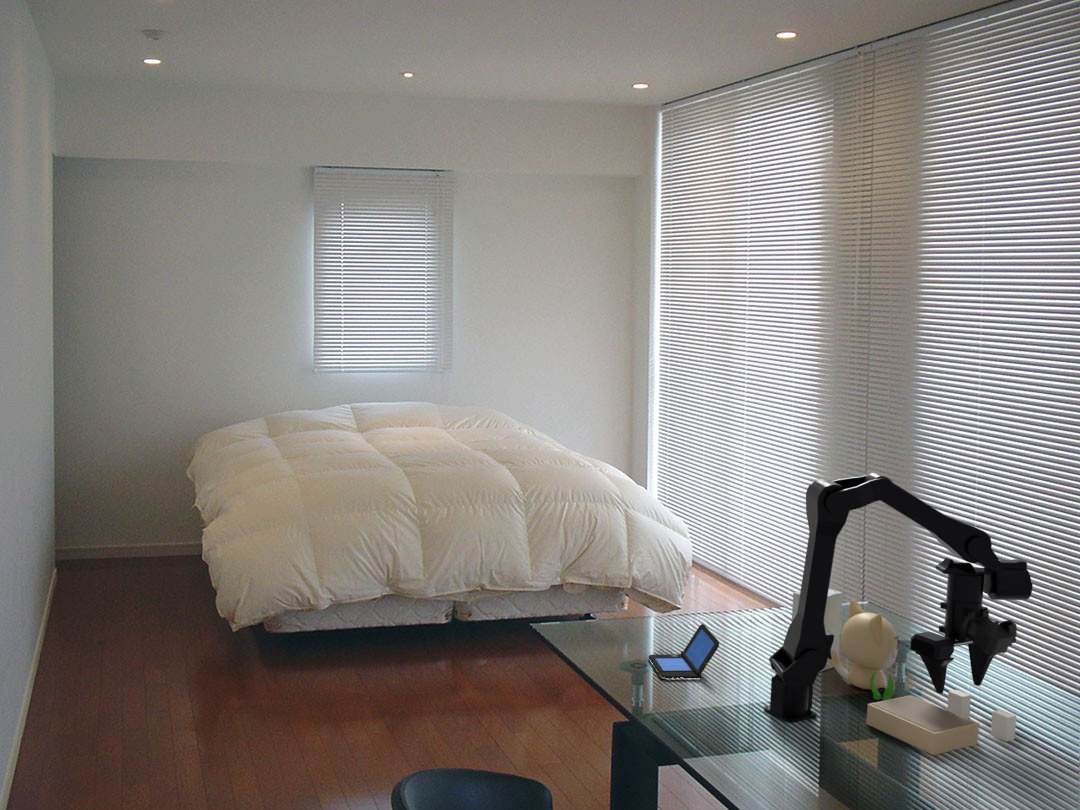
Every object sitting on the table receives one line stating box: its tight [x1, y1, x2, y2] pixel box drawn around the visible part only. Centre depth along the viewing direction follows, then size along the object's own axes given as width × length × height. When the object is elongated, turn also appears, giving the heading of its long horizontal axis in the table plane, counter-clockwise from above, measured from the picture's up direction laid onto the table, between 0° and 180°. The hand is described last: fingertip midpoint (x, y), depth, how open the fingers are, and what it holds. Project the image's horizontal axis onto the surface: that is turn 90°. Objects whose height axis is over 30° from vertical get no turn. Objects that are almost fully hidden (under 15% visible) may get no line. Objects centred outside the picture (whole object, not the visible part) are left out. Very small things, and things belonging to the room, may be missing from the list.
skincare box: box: [791, 588, 843, 673], centre depth 213 cm, size 8×6×15 cm
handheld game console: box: [648, 623, 720, 679], centre depth 210 cm, size 12×11×7 cm
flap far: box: [946, 689, 972, 719], centre depth 189 cm, size 9×6×4 cm
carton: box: [866, 694, 980, 756], centre depth 181 cm, size 10×14×4 cm
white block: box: [990, 709, 1017, 743], centre depth 182 cm, size 9×6×4 cm
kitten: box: [828, 599, 900, 701], centre depth 202 cm, size 15×10×15 cm
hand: (958, 689), depth 190 cm, fingers open, 9 cm apart
